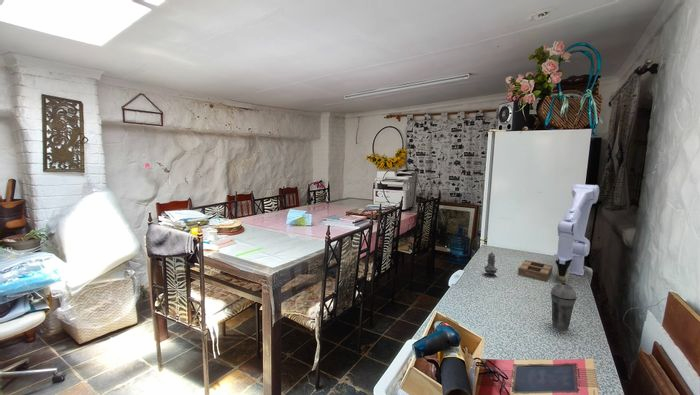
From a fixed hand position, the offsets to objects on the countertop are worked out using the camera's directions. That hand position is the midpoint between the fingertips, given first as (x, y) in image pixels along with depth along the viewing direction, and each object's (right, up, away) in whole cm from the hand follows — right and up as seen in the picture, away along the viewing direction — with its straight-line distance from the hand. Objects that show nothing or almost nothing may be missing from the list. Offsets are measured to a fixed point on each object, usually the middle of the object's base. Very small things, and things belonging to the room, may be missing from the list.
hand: (562, 274), depth 142 cm
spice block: (-8, -1, +8) cm, 11 cm away
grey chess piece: (-32, -2, +5) cm, 32 cm away
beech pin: (0, -2, 0) cm, 2 cm away
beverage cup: (-28, -8, -39) cm, 48 cm away
